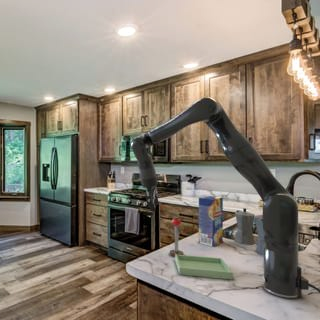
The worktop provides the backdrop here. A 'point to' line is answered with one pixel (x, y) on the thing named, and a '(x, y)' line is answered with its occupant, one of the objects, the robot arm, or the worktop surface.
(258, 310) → the worktop surface
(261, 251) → the moka pot
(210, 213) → the juice carton
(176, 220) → the red topped grey rod
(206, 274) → the serving tray
